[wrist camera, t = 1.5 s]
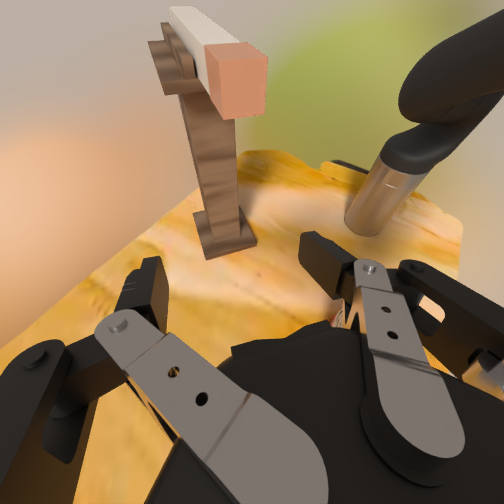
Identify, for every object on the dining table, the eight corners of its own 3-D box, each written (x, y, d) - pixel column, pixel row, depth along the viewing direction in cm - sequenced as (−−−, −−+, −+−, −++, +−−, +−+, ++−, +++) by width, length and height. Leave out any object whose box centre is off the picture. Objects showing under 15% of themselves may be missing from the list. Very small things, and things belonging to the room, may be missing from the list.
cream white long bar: (264, 114, 15) (267, 57, 13) (223, 120, 15) (218, 61, 12) (198, 40, 28) (193, 3, 25) (174, 41, 27) (167, 4, 25)
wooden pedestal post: (257, 249, 48) (272, 50, 20) (207, 264, 45) (142, 60, 17) (236, 204, 56) (226, 20, 28) (193, 214, 53) (134, 23, 26)
